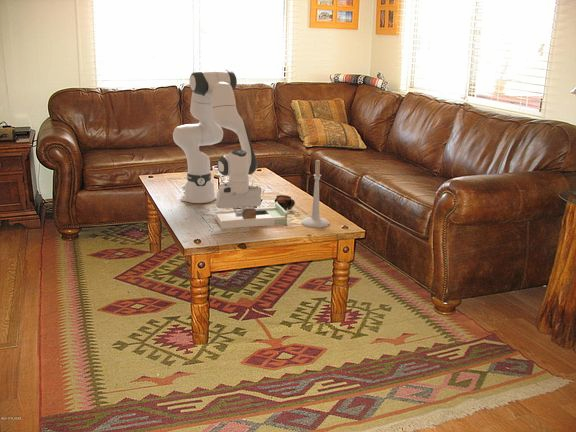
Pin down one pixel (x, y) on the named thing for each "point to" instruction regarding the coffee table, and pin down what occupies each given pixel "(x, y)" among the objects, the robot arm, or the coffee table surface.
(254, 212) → the walnut block
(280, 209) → the box
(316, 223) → the candlestick
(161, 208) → the coffee table surface
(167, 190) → the coffee table surface
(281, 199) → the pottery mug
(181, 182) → the coffee table surface
